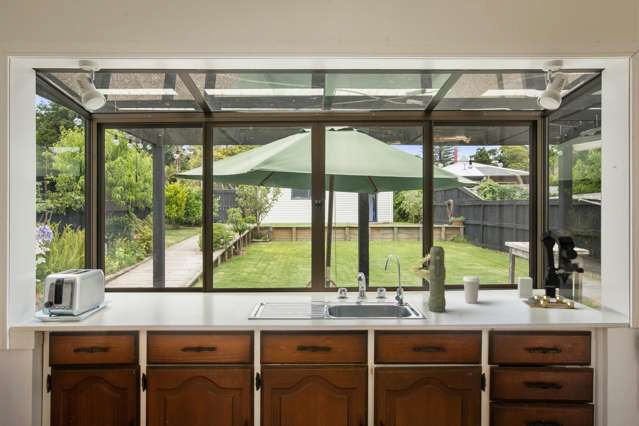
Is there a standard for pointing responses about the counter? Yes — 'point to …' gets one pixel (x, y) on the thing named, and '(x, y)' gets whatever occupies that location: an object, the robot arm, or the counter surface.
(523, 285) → the supplement box
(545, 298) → the brass spacers
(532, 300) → the steel nut
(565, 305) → the walnut board
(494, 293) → the counter surface
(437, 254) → the green bumpy column
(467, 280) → the coffee cup
